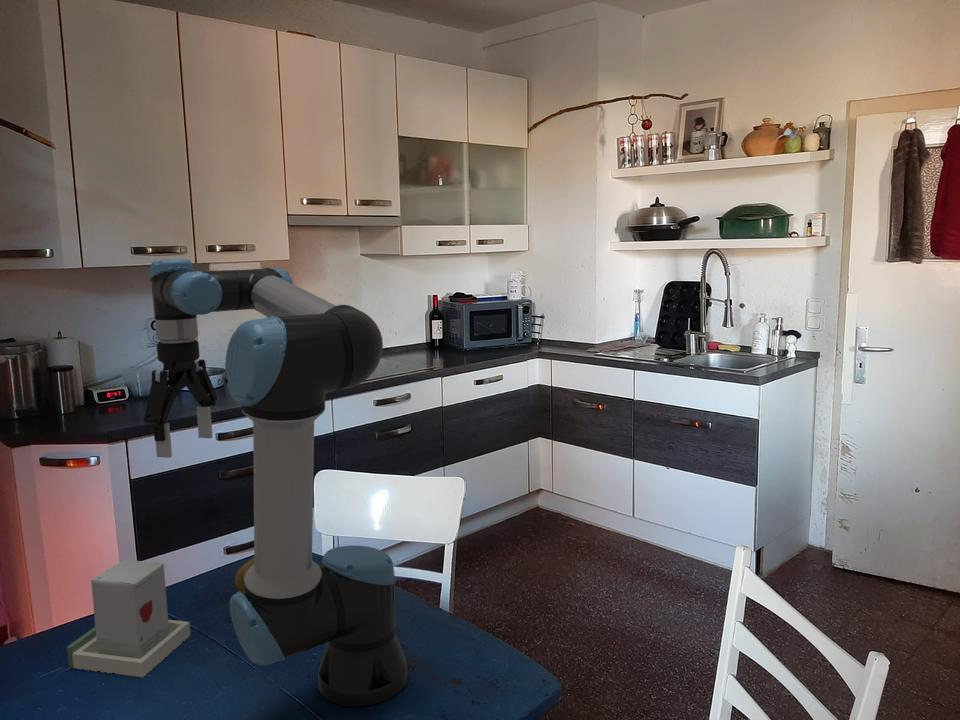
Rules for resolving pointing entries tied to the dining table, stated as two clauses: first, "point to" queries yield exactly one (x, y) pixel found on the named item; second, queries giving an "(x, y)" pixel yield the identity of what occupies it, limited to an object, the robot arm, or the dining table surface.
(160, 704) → the dining table surface
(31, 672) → the dining table surface
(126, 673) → the shallow square tray
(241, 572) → the potato
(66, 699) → the dining table surface
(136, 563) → the supplement box
